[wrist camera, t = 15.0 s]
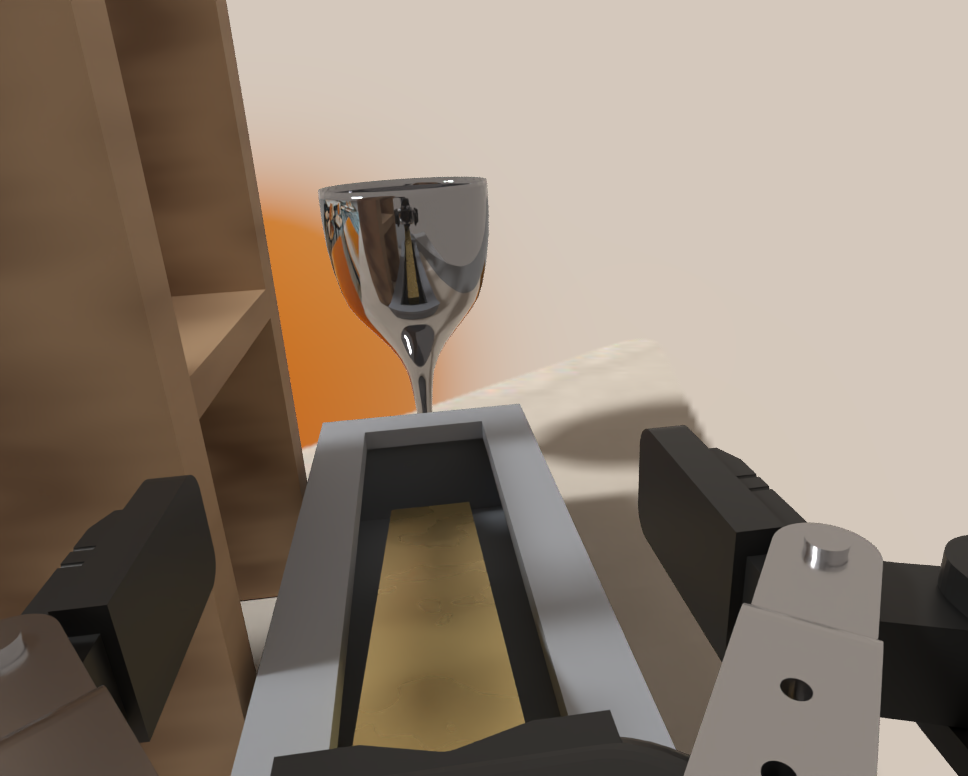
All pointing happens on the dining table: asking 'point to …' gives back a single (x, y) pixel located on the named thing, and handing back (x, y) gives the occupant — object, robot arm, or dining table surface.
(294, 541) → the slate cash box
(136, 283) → the walnut stand
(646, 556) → the dining table surface
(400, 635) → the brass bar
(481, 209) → the wine glass
